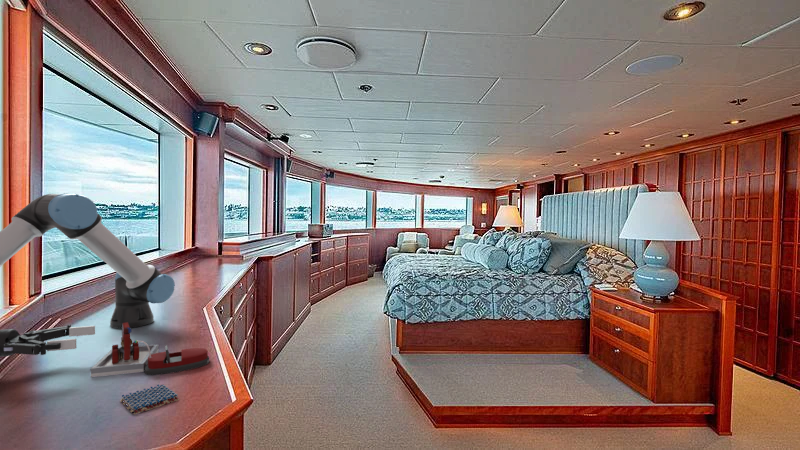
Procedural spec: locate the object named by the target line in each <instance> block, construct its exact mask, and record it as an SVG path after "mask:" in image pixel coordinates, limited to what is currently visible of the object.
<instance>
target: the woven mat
mask: <svg viewBox="0 0 800 450" xmlns="http://www.w3.org/2000/svg"><path fill="white" fill-rule="evenodd" d="M157 393H158V394H157ZM121 397H122V398H121V399H120V400H119V402H120V403H122V405H123V406H125V405H124V404H127V405H128V407H125V409H126V408H127V409H126V410H128V411H129V409H130V413H132V412H134V413H132V414H133V415H136V414H137V413H138V414H140V412H141V413H143V411H144V412H146V411H149V410H152V409H155V408H160V407H161V406H165V405H167V404H171V403H173V402H177V401H179V400H180V398H178V397H179V394H178V393H176V392H175V391H174V390H173V389H170V388H169V387H167V386H166V385H164V384H157V385H156V386H150V388H147V389H146V388H143V390H140V391H139V390H136V392H133V393H132V392H129V393H128V394H126V395H124V394H122V395H121ZM122 401H124V402H122ZM170 402H171V403H170ZM131 409H132V410H131ZM138 414H137V415H138Z"/></svg>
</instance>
